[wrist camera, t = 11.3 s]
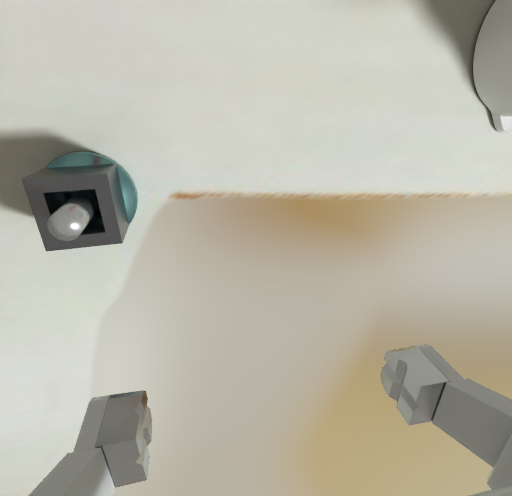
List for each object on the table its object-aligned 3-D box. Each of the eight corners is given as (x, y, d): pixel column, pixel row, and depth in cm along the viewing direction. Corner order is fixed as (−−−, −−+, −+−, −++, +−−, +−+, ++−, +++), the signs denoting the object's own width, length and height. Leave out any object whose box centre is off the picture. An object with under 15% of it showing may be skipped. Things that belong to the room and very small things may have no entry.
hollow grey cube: (116, 163, 31) (107, 173, 27) (129, 224, 34) (122, 243, 29) (44, 167, 30) (21, 179, 25) (63, 231, 32) (46, 251, 28)
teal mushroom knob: (129, 149, 32) (114, 164, 24) (144, 232, 35) (135, 269, 27) (28, 153, 30) (-25, 172, 22) (55, 240, 34) (19, 283, 26)
